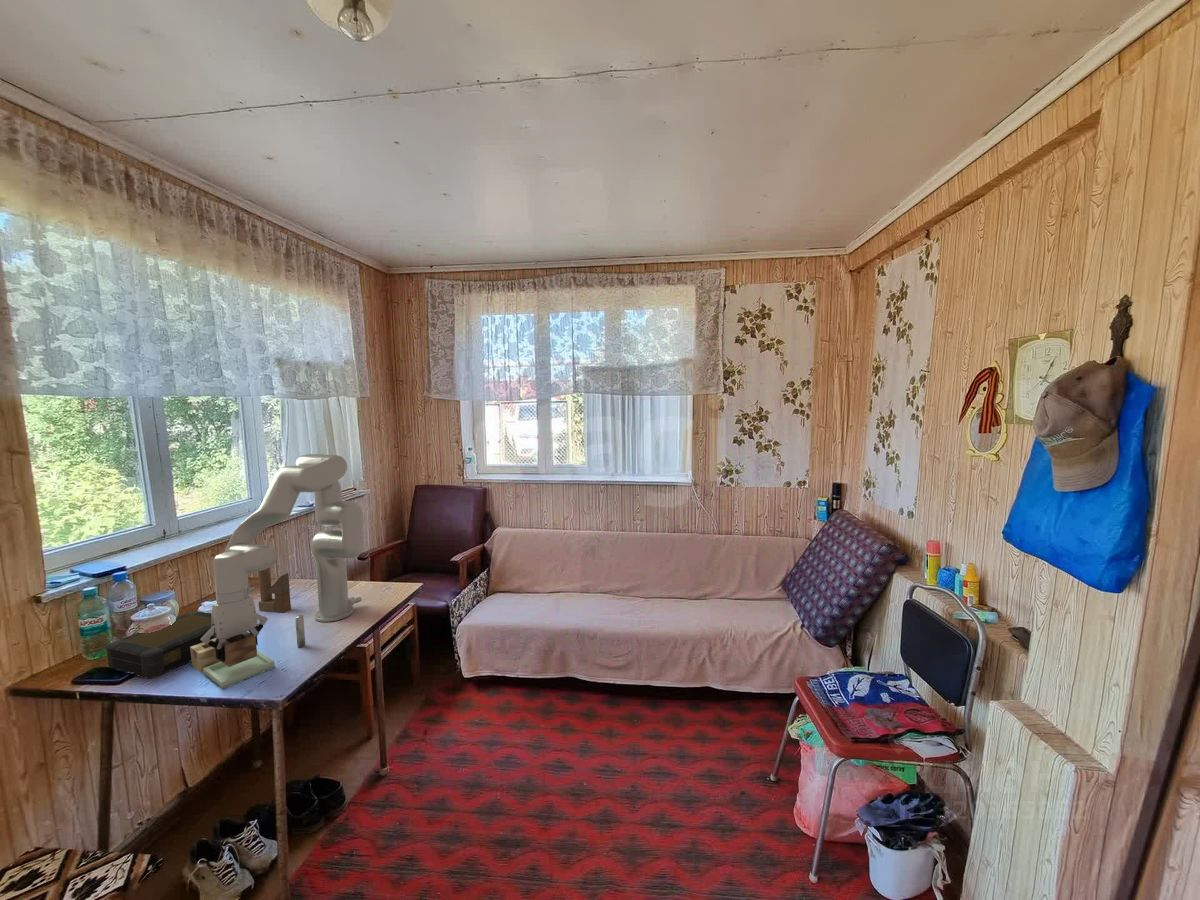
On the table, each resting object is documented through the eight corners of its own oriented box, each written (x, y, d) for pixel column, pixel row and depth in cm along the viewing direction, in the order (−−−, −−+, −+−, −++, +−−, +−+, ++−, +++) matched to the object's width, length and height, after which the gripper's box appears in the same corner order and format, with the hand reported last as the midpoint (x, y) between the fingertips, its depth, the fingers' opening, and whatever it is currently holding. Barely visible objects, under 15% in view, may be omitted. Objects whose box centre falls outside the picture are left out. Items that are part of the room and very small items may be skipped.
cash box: (196, 630, 166) (194, 609, 166) (239, 639, 161) (237, 616, 160) (104, 669, 143) (101, 644, 142) (151, 680, 137) (148, 655, 136)
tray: (255, 654, 150) (254, 648, 150) (274, 667, 143) (274, 661, 143) (203, 674, 139) (202, 668, 139) (222, 689, 132) (221, 682, 132)
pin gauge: (303, 643, 157) (301, 614, 156) (306, 645, 155) (304, 615, 154) (296, 646, 155) (293, 616, 154) (299, 648, 154) (297, 618, 152)
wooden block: (283, 613, 179) (280, 566, 177) (258, 611, 181) (254, 564, 179) (291, 608, 183) (288, 562, 181) (266, 606, 185) (263, 561, 183)
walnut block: (246, 649, 145) (245, 630, 145) (257, 656, 141) (255, 636, 141) (218, 659, 139) (216, 640, 139) (228, 667, 136) (227, 646, 135)
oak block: (220, 655, 150) (218, 637, 149) (229, 662, 146) (227, 643, 145) (192, 666, 144) (190, 646, 143) (201, 673, 140) (199, 653, 140)
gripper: (261, 583, 148) (265, 638, 150) (189, 602, 133) (195, 664, 135) (272, 588, 144) (276, 645, 145) (200, 609, 129) (205, 672, 131)
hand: (237, 653), depth 140 cm, fingers closed on walnut block, 7 cm apart
